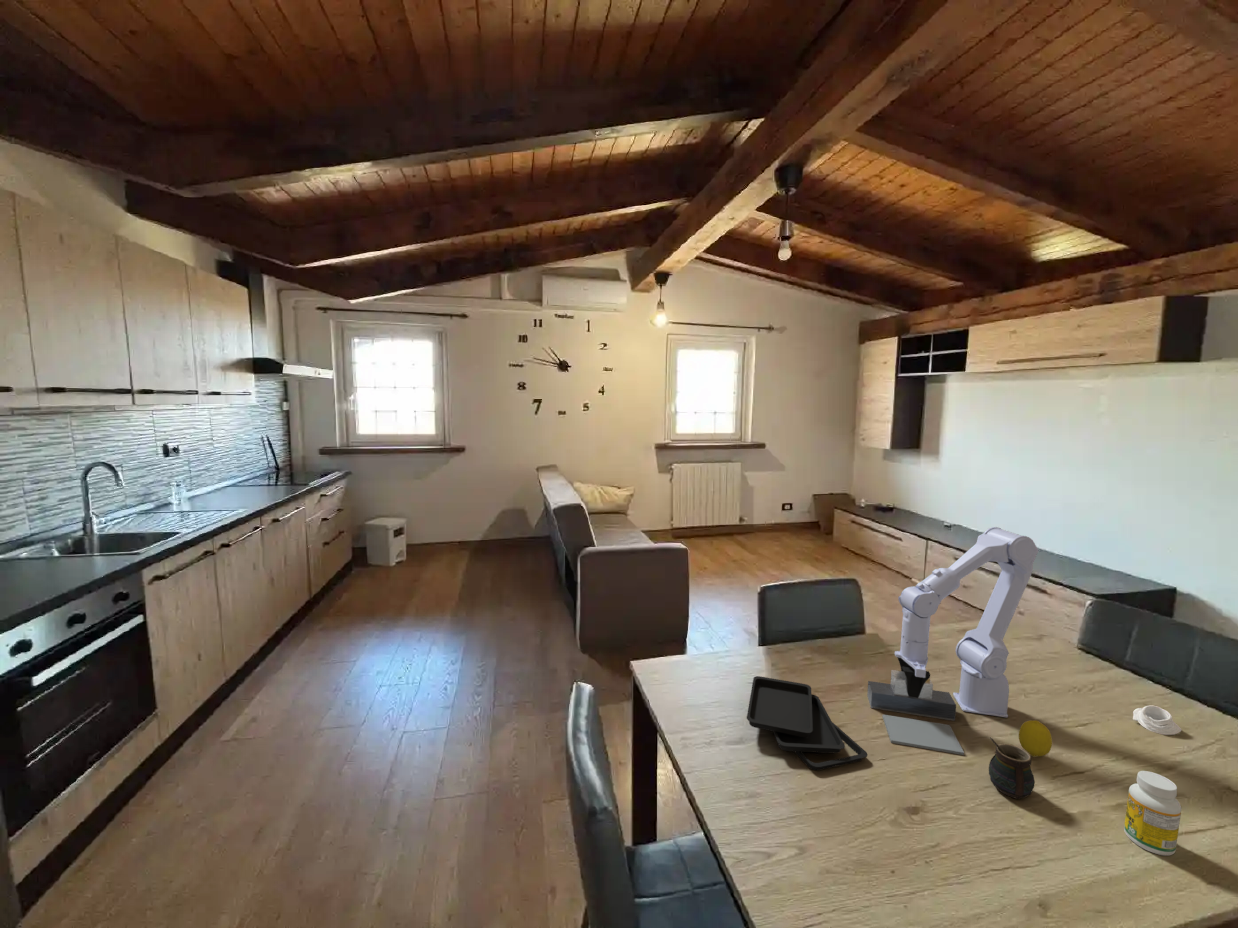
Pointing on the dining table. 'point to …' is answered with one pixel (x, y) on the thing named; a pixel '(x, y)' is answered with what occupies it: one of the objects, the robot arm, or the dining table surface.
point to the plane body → (911, 702)
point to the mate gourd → (1011, 771)
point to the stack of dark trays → (798, 721)
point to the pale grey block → (901, 686)
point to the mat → (922, 734)
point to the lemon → (1035, 738)
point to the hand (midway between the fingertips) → (910, 690)
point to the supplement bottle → (1153, 813)
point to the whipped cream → (1156, 720)
